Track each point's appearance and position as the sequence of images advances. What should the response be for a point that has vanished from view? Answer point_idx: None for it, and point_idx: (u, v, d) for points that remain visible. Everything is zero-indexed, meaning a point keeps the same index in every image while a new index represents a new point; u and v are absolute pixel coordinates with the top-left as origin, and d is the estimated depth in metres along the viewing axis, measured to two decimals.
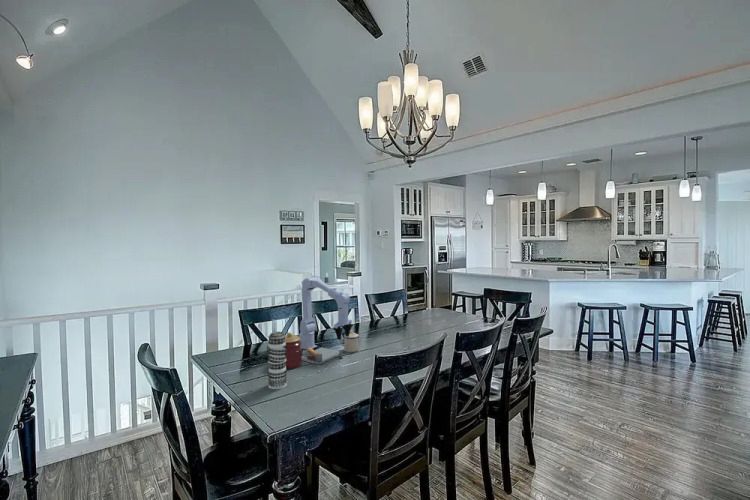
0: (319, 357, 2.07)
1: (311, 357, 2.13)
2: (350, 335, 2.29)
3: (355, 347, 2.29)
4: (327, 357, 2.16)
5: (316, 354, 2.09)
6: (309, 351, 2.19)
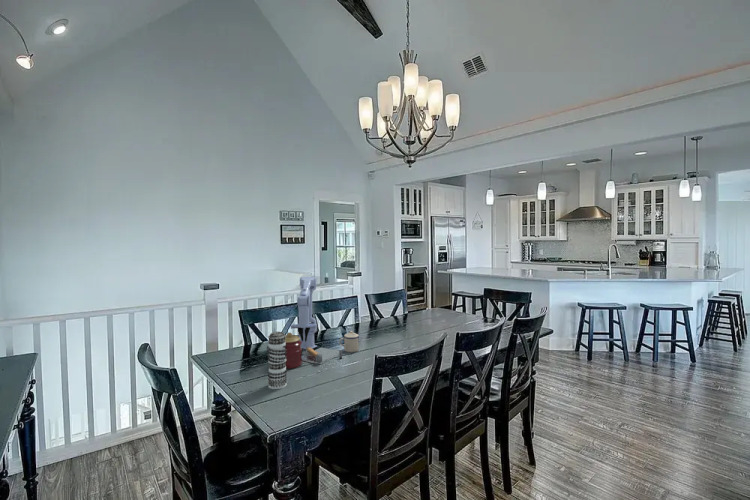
0: (319, 357, 2.07)
1: (311, 357, 2.13)
2: (350, 335, 2.29)
3: (355, 347, 2.29)
4: (327, 357, 2.16)
5: (316, 354, 2.09)
6: (309, 351, 2.19)
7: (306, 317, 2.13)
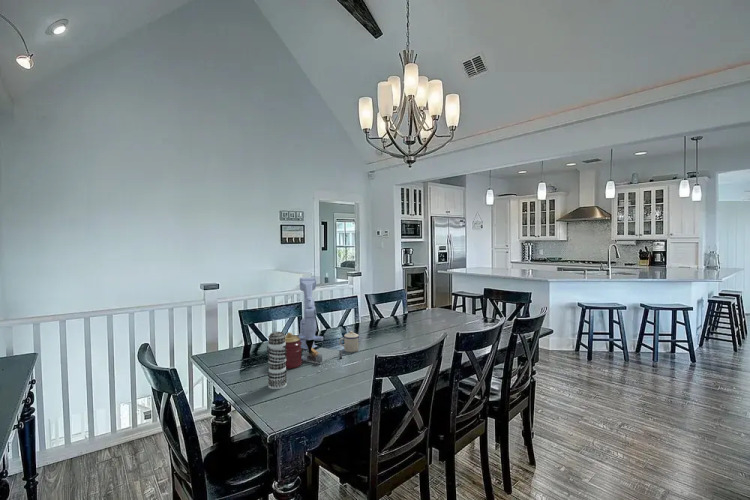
0: (319, 357, 2.07)
1: (311, 357, 2.13)
2: (350, 335, 2.29)
3: (355, 347, 2.29)
4: (327, 357, 2.16)
5: (316, 354, 2.09)
6: None
7: (313, 329, 2.14)
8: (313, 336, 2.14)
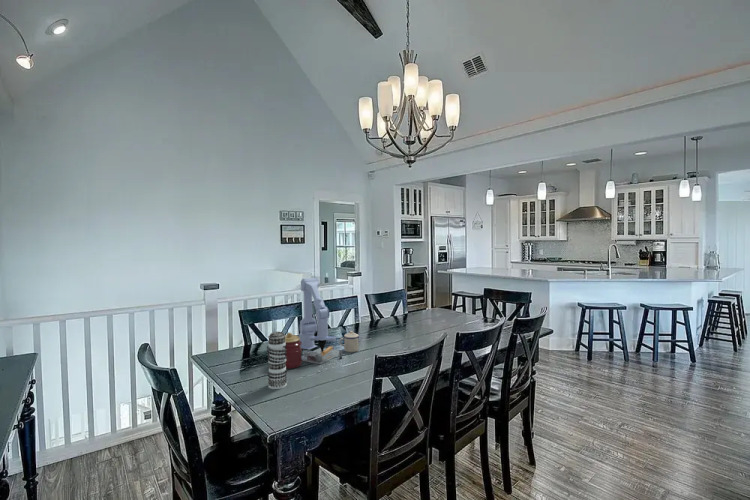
0: (317, 357, 2.07)
1: (311, 357, 2.13)
2: (350, 335, 2.29)
3: (355, 347, 2.29)
4: (327, 357, 2.16)
5: None
6: None
7: (326, 329, 2.15)
8: (326, 336, 2.14)
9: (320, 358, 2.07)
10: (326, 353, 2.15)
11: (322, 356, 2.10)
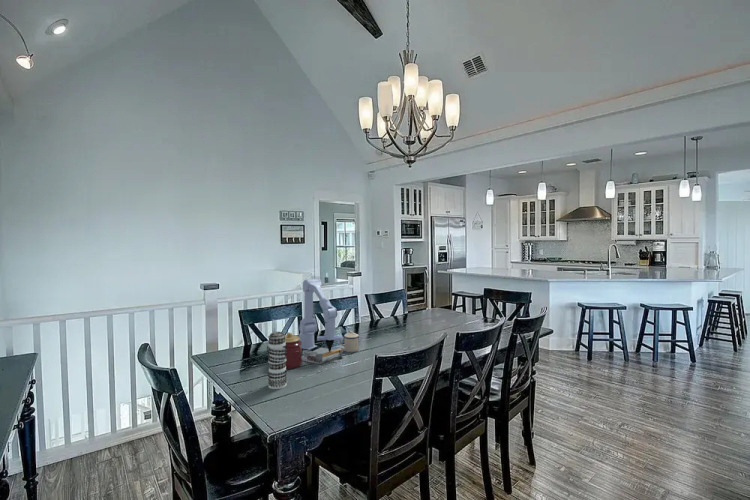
0: (316, 357, 2.08)
1: (311, 357, 2.13)
2: (350, 335, 2.29)
3: (355, 347, 2.29)
4: (327, 357, 2.16)
5: None
6: None
7: (334, 329, 2.15)
8: (333, 336, 2.14)
9: (319, 358, 2.07)
10: (330, 354, 2.13)
11: None
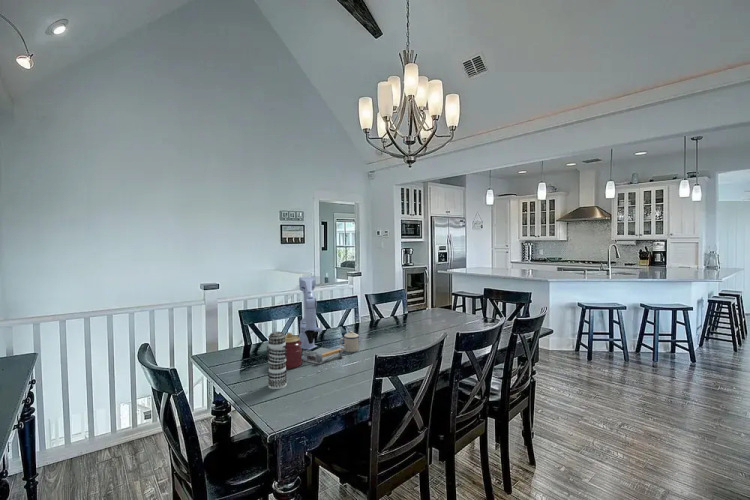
0: (316, 357, 2.08)
1: (311, 357, 2.13)
2: (350, 335, 2.29)
3: (355, 347, 2.29)
4: (327, 357, 2.16)
5: None
6: None
7: (314, 320, 2.16)
8: (311, 327, 2.15)
9: (319, 358, 2.07)
10: (330, 354, 2.13)
11: None
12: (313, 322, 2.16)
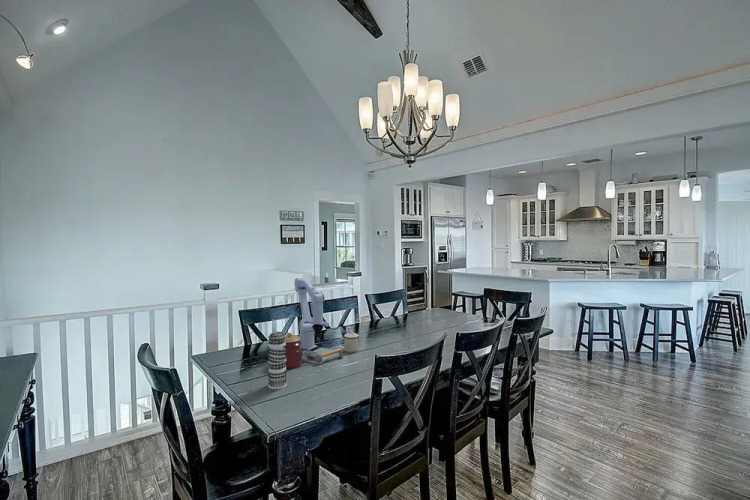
0: (316, 357, 2.08)
1: (311, 357, 2.13)
2: (350, 335, 2.29)
3: (355, 347, 2.29)
4: (327, 357, 2.16)
5: None
6: None
7: (322, 314, 2.22)
8: (319, 321, 2.20)
9: (319, 358, 2.07)
10: (330, 354, 2.13)
11: None
12: (320, 316, 2.21)
